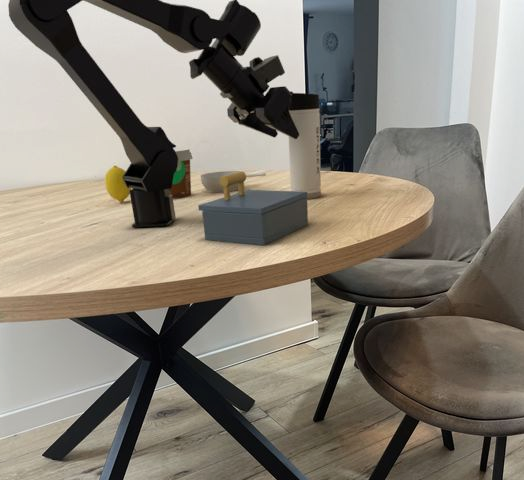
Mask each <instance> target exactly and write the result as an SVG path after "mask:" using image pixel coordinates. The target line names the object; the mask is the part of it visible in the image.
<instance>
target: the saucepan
mask: <svg viewBox="0 0 524 480" xmlns="http://www.w3.org/2000/svg"><path fill="white" fill-rule="evenodd" d="M237 172H244V173H245V174H246V178H251V177H265V176H266V175H267V174H266V173H265V172H264V173H263V172H262V173H246V172H245V171H243V170H242V171H241V170H223V171H214V172H207V173H203V174H200V175H199V177H200V181H201V184H202V186H203V187H204V189H205V190H206V192H208V193H209V192H210V193H224V188H223V186H222V185H221V184H220V178H221V177H222V176H226V175H229V174H233V173H237ZM229 189H230V192H234V191H237V190H238V191H239V188H238V183H237V184H234V185H230V186H229Z"/></svg>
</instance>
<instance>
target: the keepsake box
mask: <svg viewBox="0 0 524 480" xmlns="http://www.w3.org/2000/svg"><path fill="white" fill-rule="evenodd" d="M308 209H309V208H308V199H307V197H305V198H302V199H300V200H297V201H295V202H292V203H289V204H287V205H284V206H282V207H279V208H276V209H274V210H271V211H269V212H266V213H263V214H250V213H234V212H217V211H201V213H202V214H201V215H202V223H203V232H204V239H205V240H206V241H215V242H226V243H235V244H236V243H237V244H245V245H247V244H248V245H257V246H266V245H267V244H269V243H272V242H273V241H277V239H280V238H282V237H284V236H286V235H289V234H290V233H291V234H292V233H293V232H296V231H297V230H299V229H301V228H303V227H306V226H307V225H309V213H308V212H309V211H308Z"/></svg>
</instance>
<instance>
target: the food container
mask: <svg viewBox="0 0 524 480" xmlns="http://www.w3.org/2000/svg"><path fill="white" fill-rule="evenodd" d="M175 152H176V153H177V155H178V166H177V170H176V172H175V173H174V177H173V183H172V188H170V189H169V195H170V194H171V195H172V196H173V200H174V199H182V198H186V197H190V196H192V185H191V184H192V179H191V176H192V175H191V160H193V156H192V152H191V150H190V149H184V150H177V151H176V150H175Z"/></svg>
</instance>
